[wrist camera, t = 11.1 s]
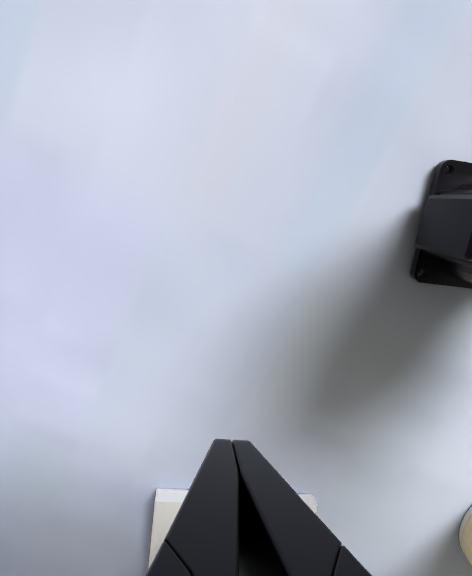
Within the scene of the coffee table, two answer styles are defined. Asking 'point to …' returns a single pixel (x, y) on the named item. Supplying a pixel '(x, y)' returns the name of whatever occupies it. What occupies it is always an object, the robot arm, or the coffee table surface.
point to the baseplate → (169, 507)
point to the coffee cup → (466, 535)
